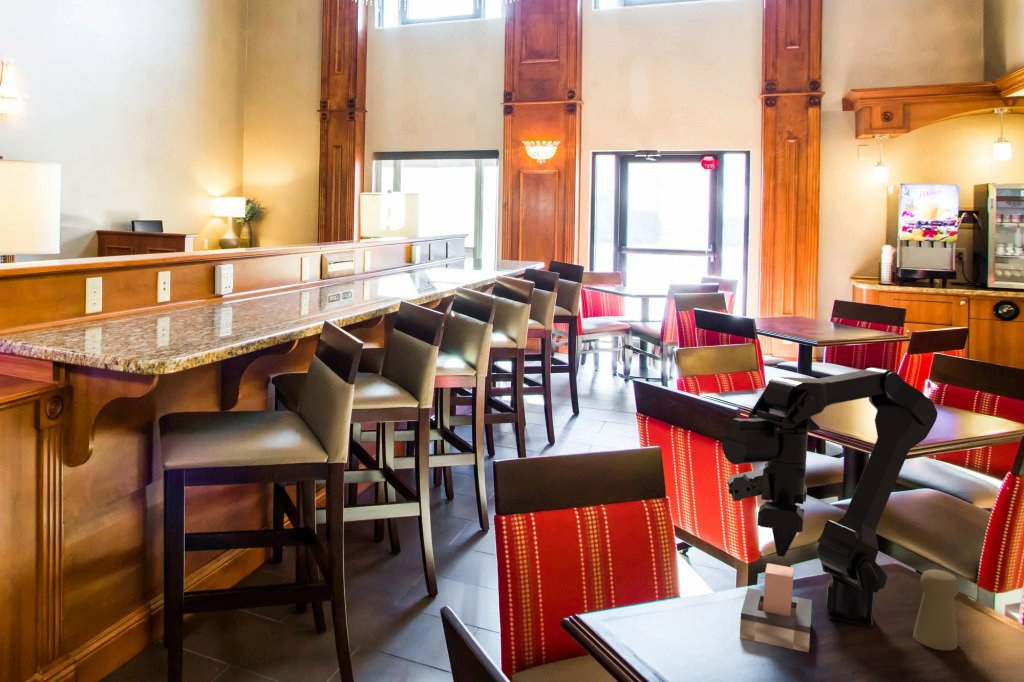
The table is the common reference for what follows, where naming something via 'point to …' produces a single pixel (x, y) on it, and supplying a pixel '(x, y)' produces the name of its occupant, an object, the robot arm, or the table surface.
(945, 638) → the beige pepper mill
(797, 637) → the socket block
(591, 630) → the table surface
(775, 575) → the square peg
